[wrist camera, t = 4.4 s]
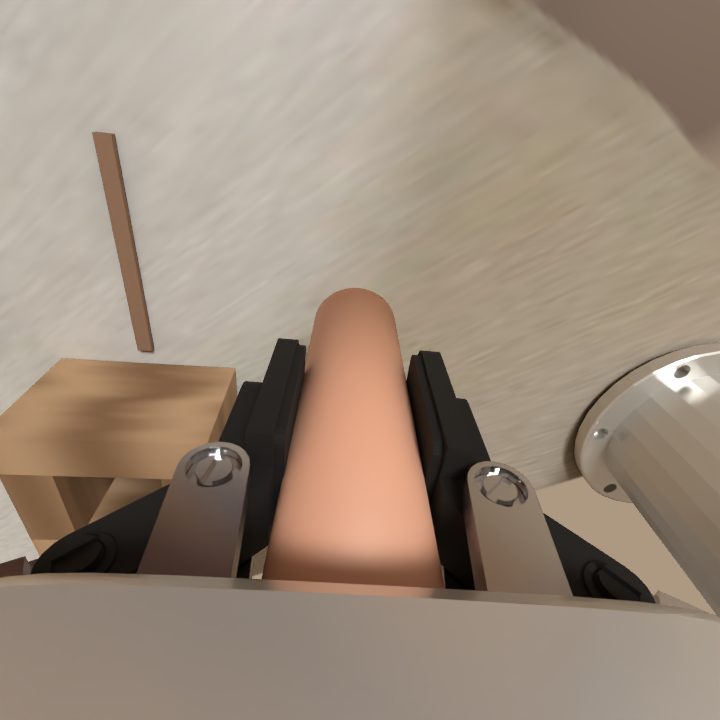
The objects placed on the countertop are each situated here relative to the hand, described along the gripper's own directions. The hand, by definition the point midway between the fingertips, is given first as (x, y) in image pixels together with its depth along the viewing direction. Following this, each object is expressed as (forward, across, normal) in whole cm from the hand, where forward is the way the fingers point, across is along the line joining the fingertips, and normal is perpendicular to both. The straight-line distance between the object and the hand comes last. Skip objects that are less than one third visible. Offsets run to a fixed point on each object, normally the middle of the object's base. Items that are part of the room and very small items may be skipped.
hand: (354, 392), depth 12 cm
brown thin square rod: (+9, +11, 0) cm, 14 cm away
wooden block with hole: (+10, +11, +10) cm, 18 cm away
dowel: (+4, 0, 0) cm, 4 cm away
